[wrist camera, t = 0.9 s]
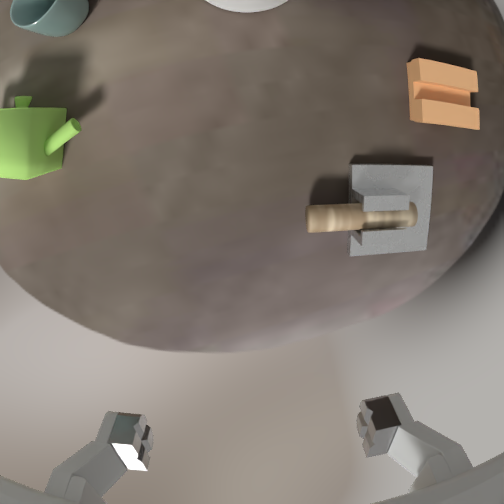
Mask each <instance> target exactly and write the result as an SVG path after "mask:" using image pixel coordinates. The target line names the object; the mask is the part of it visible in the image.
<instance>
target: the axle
mask: <svg viewBox="0 0 504 504" xmlns="http://www.w3.org/2000/svg"><path fill="white" fill-rule="evenodd" d="M305 217H306V227H307V231H308V232H309V233H312V232H327V231H343V230H360V229H378V228H395V227H413V226H415V225H416V223H417V220H418V211H417V207H416V205H415V204H414V203H413V202H409V210H394V211H368V212H363V211H362V203H352V204H328V205H308V206H306V212H305Z"/></svg>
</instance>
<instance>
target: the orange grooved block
mask: <svg viewBox="0 0 504 504" xmlns="http://www.w3.org/2000/svg"><path fill="white" fill-rule="evenodd" d="M407 72H408V85H409V102H410V120H414V121H415V122H422V123H431V124H440V125H448V126H455V127H462V128H469V129H477V130H479V109H478V108H473V107H471V106H470V92H478V82H477V71H473V70H470V69H466V68H462V67H458V66H454V65H450V64H446V63H441V62H437V61H432V60H427V59H422V58H417V59H413V60H411V62H408V63H407Z"/></svg>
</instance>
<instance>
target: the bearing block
mask: <svg viewBox="0 0 504 504" xmlns="http://www.w3.org/2000/svg"><path fill="white" fill-rule="evenodd" d="M432 180H433V166H430V165H418V164H369V163H356V164H349V204H352V203H362V211H363V212H368V211H394V210H409V202H413V203H414V204H415V205H416V207H417V211H418V220H417V223H416V225H415V226H413V227H395V228H378V229H360V230H348V243H347V253H348V254H349V256H360V255H372V254H385V253H397V252H408V251H420V250H426V246H427V238H428V230H429V220H430V209H431V196H432Z"/></svg>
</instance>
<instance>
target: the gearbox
mask: <svg viewBox="0 0 504 504" xmlns="http://www.w3.org/2000/svg"><path fill="white" fill-rule="evenodd" d="M31 100H32V97H31V96H16V97H15V105H16V108H5V109H0V177H1V178H11V179H22V180H28V179H31V178H34V177H37V176H40V175H43V174H46V173H49V172H52V171H55V170H58V169H61V168H62V160H63V150H64V143H66V142H67V141H68V140H70V139H71V138H72V137H74V136H75V135H76V134H78V133H79V132H80V131H81V126H80V124H79V122H78V121H77V120H76V119H74V118H71V119H70V120H69V121H67V122H66V113H67V109H66V108H28V106H29V104H30V102H31Z"/></svg>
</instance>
